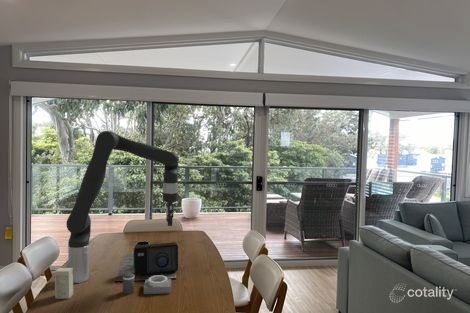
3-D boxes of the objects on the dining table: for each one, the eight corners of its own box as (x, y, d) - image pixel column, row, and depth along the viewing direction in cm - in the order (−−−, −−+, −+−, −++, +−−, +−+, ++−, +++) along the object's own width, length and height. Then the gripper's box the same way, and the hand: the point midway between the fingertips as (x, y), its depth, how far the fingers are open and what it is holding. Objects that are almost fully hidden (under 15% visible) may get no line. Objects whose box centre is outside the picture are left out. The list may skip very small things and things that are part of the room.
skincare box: (73, 294, 154) (73, 267, 154) (69, 299, 150) (69, 271, 149) (58, 294, 154) (59, 267, 153) (54, 298, 150) (54, 271, 149)
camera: (133, 279, 173) (134, 249, 172) (133, 271, 182) (134, 243, 181) (179, 275, 179) (179, 247, 178) (177, 268, 188) (177, 241, 187)
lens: (121, 295, 155) (122, 277, 155) (123, 290, 160) (123, 273, 160) (133, 294, 156) (133, 277, 156) (134, 289, 161) (135, 272, 161)
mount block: (143, 294, 157) (143, 283, 157) (145, 285, 166) (145, 275, 165) (170, 293, 159) (170, 282, 158) (171, 284, 168) (171, 274, 167)
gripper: (161, 189, 179) (160, 220, 180) (163, 194, 165) (162, 227, 166) (176, 189, 181) (175, 219, 182) (179, 193, 167) (178, 227, 168)
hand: (169, 223), depth 174 cm, fingers open, 8 cm apart
